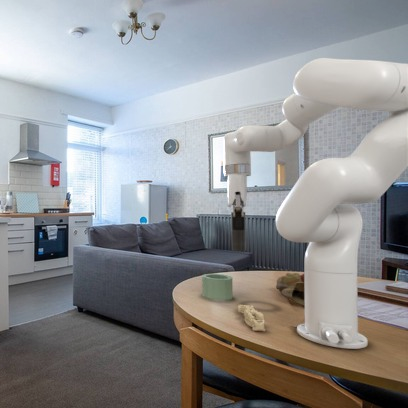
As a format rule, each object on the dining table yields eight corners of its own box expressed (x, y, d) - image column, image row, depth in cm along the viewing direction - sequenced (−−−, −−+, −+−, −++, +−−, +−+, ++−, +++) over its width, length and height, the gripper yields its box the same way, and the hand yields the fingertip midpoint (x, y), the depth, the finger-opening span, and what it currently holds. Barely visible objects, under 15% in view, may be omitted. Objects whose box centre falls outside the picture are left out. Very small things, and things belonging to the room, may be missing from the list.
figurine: (283, 280, 97) (275, 265, 115) (282, 310, 97) (273, 290, 115) (347, 288, 90) (327, 270, 108) (345, 319, 91) (326, 297, 109)
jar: (232, 303, 102) (232, 280, 102) (201, 299, 106) (200, 278, 106) (232, 296, 110) (232, 275, 110) (203, 293, 114) (203, 272, 114)
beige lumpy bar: (270, 333, 78) (270, 318, 78) (253, 332, 79) (253, 317, 79) (245, 310, 95) (245, 298, 95) (231, 309, 96) (231, 297, 96)
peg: (246, 251, 100) (245, 212, 101) (231, 250, 102) (230, 212, 102) (246, 250, 104) (245, 212, 104) (231, 249, 106) (231, 212, 106)
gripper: (224, 174, 113) (226, 228, 112) (223, 169, 98) (224, 231, 97) (249, 173, 109) (251, 228, 109) (252, 167, 94) (253, 231, 94)
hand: (238, 229), depth 103 cm, fingers closed on peg, 4 cm apart
